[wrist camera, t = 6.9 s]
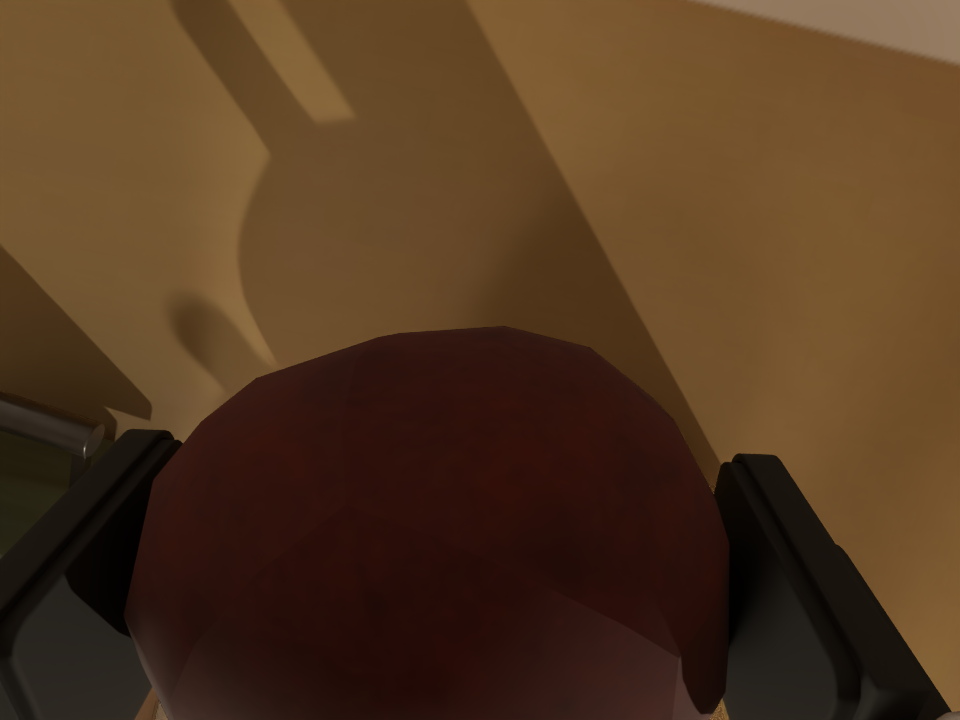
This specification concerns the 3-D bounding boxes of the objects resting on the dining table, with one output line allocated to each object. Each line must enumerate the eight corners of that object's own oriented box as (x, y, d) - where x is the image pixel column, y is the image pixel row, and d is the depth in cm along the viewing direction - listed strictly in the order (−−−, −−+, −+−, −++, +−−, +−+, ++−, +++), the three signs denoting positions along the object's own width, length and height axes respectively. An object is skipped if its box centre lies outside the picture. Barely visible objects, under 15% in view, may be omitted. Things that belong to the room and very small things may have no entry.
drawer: (-46, 318, 30) (-227, 406, 23) (209, 402, 32) (117, 510, 24) (-44, 571, 38) (-179, 699, 30) (161, 629, 39) (80, 765, 32)
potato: (366, 146, 9) (178, 289, 4) (775, 417, 11) (1027, 768, 6) (185, 476, 12) (-67, 818, 7) (533, 648, 14) (551, 1023, 9)
